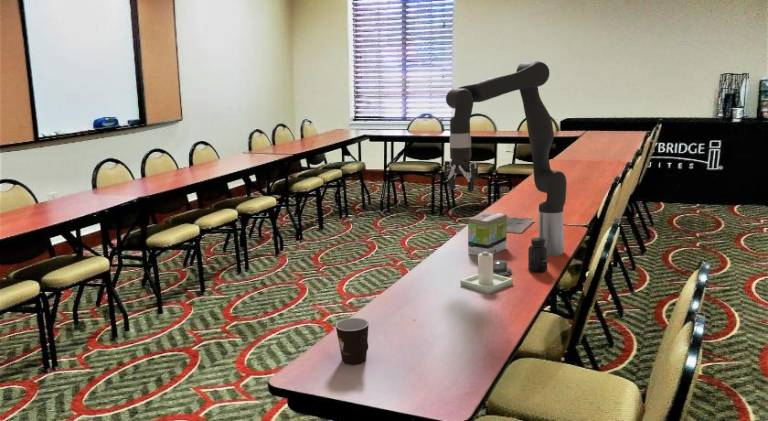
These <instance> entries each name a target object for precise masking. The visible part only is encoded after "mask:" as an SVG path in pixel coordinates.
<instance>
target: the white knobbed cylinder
mask: <svg viewBox="0 0 768 421" xmlns="http://www.w3.org/2000/svg"><path fill="white" fill-rule="evenodd" d="M493 261H494V254H491V253H489V252H482V253H480V254H478V255H477V262H478V263H477V268H478V270H477V272H478V273H477V274H478V282H479V284H481V285H491V284H493Z"/></svg>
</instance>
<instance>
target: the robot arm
mask: <svg viewBox="0 0 768 421" xmlns="http://www.w3.org/2000/svg"><path fill="white" fill-rule="evenodd" d="M549 78H550V68H549V67H548V65H547V64H546V63H545V62H542V61H538V60H537V61H536V60H535V61H534V60H528V61H522V62H520V63H519V64H518V66H517V68H516V70H515V72H513V73H512V72H511V73H509V74H505V75H504V74H503V75H497V76H493V77H490V78H486V79H483V80H480V81H477V82H475V83H472V84H467V85H463V86H458V87H455V88H452V89H451V90H449V91H448V93H447V94H446V96H445V103H446V104H447V106H448V107H450V108H451V109H454V114H453V116H451V118H450V120H449V133H450V134H449V158H450V160H449V159H448V160H445V161H444V165H443V166H444V170H443V171H444V174H443V176H444V177H445V178H447V179H448V187H449V190H451V191H452V190H455V189H456V179H455V178H456V176H457V175H463V177H465V178H466V180H467V193H471V192H474V189H475V181H477V180H479V179H480V178H479V168H478V167H479V165H478V164H479V163H477V162H473V163H471V159H472V137H471V123H470V122H471V118H472V112H473V107H474V103H482V102H485V101H488V100H491V99H494V98H497V97H500V96H502V95H506V94H508V93H512V92H514V91H515V92H516V91H518V90H519V93H520V98H521V100H522V104H523V111H524V116H525V120H526V121H525V122H526V129H527V135H528V139H529V144H530V149H531V156H532V166H533V181H534V185H535V188H536V189H537V191H539V192H540V193H544V194H546V200H545V201H541V202H540V203H539V204H538V237H539V238H544V239H545V246H546V247H547V249H548V257H559V256H562V255H563V253H564V249H565V248H564V247H565V246H564V245H565V229H564V207H565V204H566V199H567V177H566V174H564V172H562V171H560V170H557V169H556V170H553V169H551V164H550V159H549V156H550V155H549V154H550V151H551V147H552V144H553V141H554V136H555V132H554V127H553V126H554V125H553V120H552V117H551V115H550V113H549V111H548V109H547V108H546V106H545V104H544V103H543V101H542V98H541V96H540V92H539V87H542V86H544V85H545V84H546V83H547V81H548V80H549Z"/></svg>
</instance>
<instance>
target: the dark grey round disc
mask: <svg viewBox="0 0 768 421" xmlns="http://www.w3.org/2000/svg"><path fill="white" fill-rule="evenodd" d="M512 273H513V270H512V269H511V268H510V267H508V263H507V261H506V260H502V259H496V260H494V259H493V274H496V275H500V276H504V277H508V276H511V275H512Z"/></svg>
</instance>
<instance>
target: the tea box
mask: <svg viewBox="0 0 768 421" xmlns="http://www.w3.org/2000/svg"><path fill="white" fill-rule="evenodd" d="M507 215H508V214H507V213H498V212H493V211H492V212H489V211H485V212H482V213H480V214H477V215H474V216H472V217H469V218H467V219H468V220H467V225H468V226H467V229H468V230H467V253H468V254H469V255H473V256H478V254H480V253H482V252H489V253H491V254H493V255H495V254H497V253H499V252H501V251H504V250H506V249H507V239H508V238H507V236H508V235H507V233H508V232H507V217H508V216H507Z"/></svg>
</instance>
